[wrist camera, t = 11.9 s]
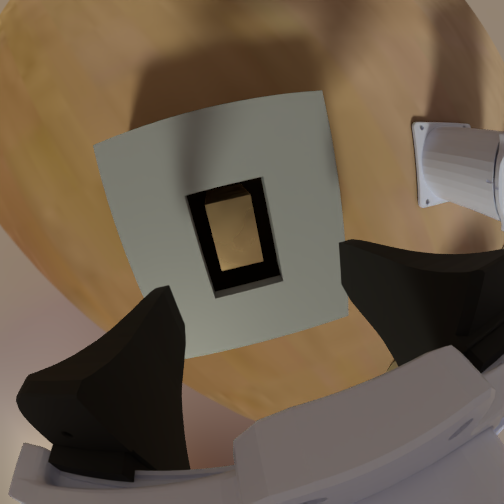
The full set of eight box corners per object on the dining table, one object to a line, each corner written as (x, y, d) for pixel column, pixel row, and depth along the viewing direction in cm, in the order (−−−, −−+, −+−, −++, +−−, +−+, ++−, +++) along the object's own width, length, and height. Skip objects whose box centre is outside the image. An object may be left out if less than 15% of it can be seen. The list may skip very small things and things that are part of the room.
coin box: (290, 105, 17) (322, 90, 12) (318, 276, 23) (348, 315, 17) (126, 145, 17) (93, 145, 11) (180, 312, 22) (174, 360, 17)
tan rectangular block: (240, 183, 19) (250, 194, 14) (251, 235, 21) (263, 261, 16) (206, 191, 19) (204, 204, 14) (218, 242, 20) (221, 271, 16)
